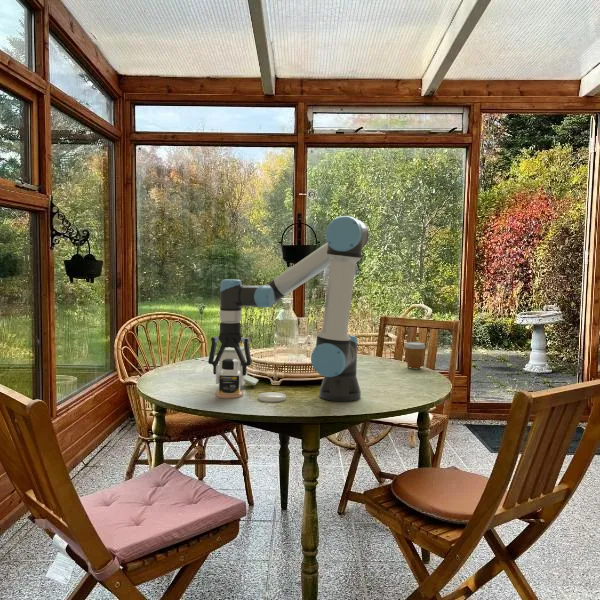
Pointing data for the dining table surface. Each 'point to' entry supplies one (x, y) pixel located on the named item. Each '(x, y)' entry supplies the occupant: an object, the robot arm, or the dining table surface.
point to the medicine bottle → (229, 377)
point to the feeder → (231, 354)
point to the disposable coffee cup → (414, 354)
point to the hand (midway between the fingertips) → (229, 383)
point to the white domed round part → (271, 397)
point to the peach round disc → (229, 395)
